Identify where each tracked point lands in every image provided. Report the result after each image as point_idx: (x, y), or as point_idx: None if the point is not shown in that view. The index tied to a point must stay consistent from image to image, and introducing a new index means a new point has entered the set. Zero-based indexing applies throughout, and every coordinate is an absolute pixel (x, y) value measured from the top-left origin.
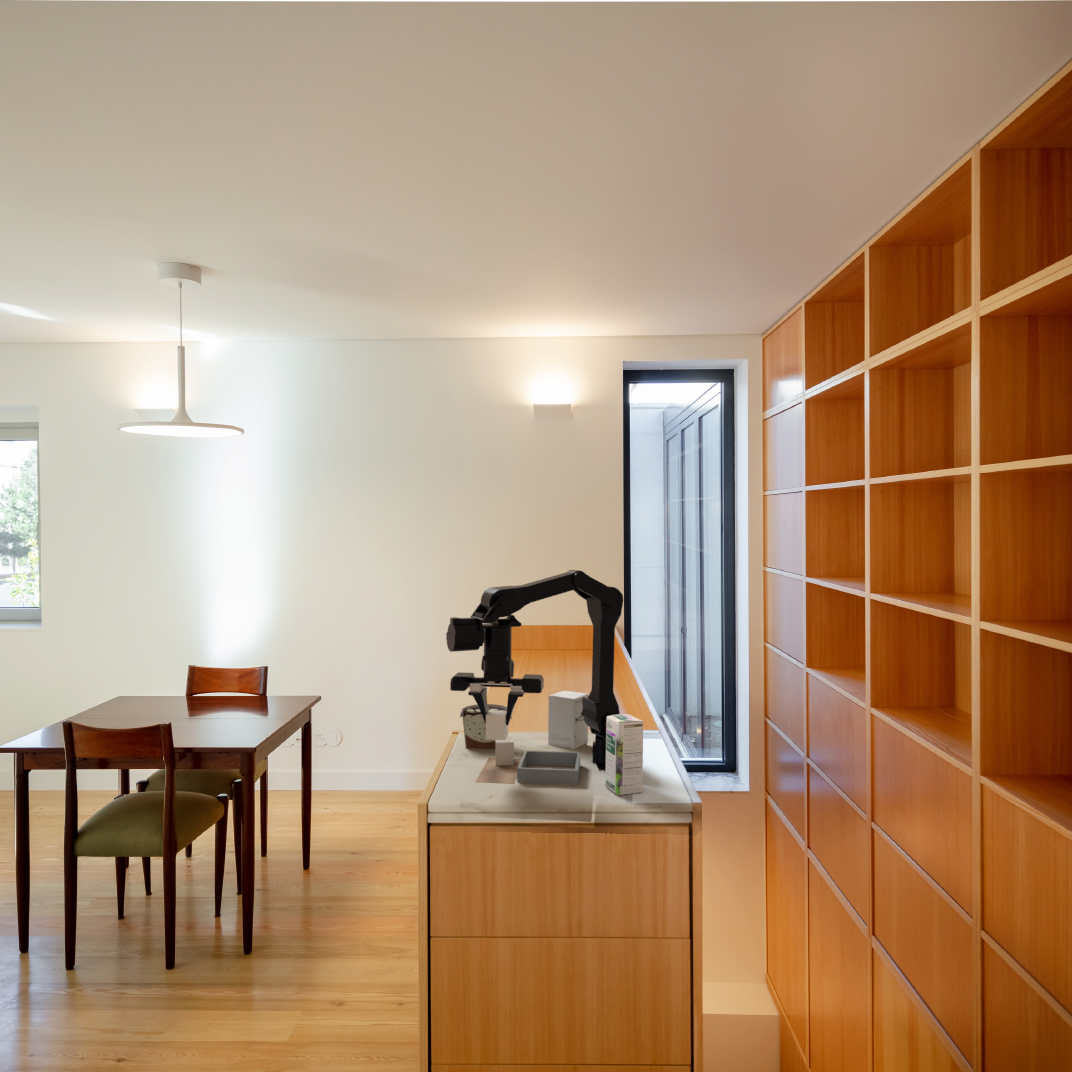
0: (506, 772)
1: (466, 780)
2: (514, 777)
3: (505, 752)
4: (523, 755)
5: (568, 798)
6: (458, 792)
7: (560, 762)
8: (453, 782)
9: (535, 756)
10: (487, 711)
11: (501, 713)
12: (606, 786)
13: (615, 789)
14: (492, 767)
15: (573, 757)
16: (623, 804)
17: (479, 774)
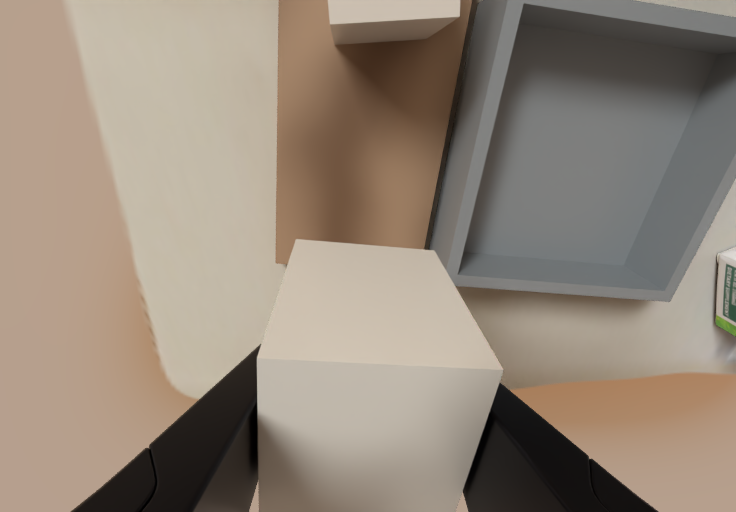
0: (390, 153)
1: (232, 201)
2: (422, 214)
3: (391, 31)
4: (490, 95)
5: (569, 340)
6: (234, 312)
7: (660, 41)
8: (187, 224)
9: (555, 17)
10: (249, 438)
11: (417, 466)
12: (720, 265)
13: (727, 322)
14: (322, 80)
15: None
16: (697, 369)
17: (277, 181)
